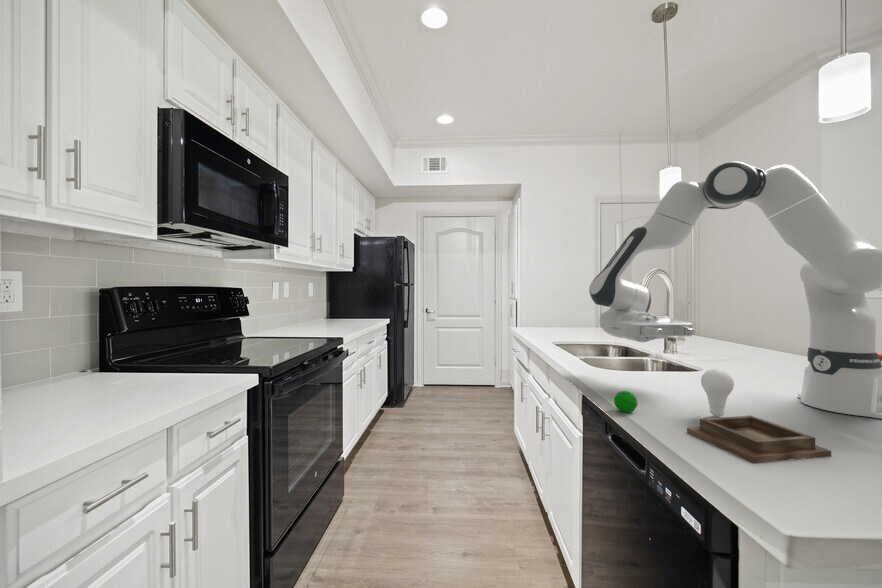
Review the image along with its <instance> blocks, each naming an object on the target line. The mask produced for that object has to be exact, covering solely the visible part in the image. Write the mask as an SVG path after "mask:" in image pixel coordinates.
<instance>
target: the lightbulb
mask: <svg viewBox="0 0 882 588" xmlns="http://www.w3.org/2000/svg"><path fill="white" fill-rule="evenodd" d="M700 378H701V379H700V384H701V387H702V389H703V390H704V392H705V393H706V396H707V400H708V405H709V413H710V415H712V416H713V418H720V417H724V414H725V407H726V406H727V405H726V403H727V400H728V397H729V395H730V394H731V393H732V391H733V390H734V387H735V381H734V379H733V377H732V376H731V375H730V373H728V372H727V371H725V370H723V369H719V368H711V369H708V370H707V371H704V373H703V374H702V375H701V377H700Z"/></svg>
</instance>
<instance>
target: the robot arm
mask: <svg viewBox="0 0 882 588" xmlns="http://www.w3.org/2000/svg"><path fill="white" fill-rule="evenodd" d="M744 202H750V203H752V204H754V205H756V206H758V208H759V209H760V210H761V211H762V212H763V214H764V215H765V217H766V219H768V221H769V222H770V224H771V225H772V226H773V228H774V229H775V231H776V232H777V233H778V235H779V236H780V237H781V238H782V240H783V242H784V243H785V244H786V245H788V246H789V247H791V248H792V249H794V250H795V251H796V252H797V253H798V254H799V255H801V256H802V258H803V259H804V260H805V262H804V263H803V264H802V265H801V268H800V272H799V276H800V279H801V281H802V283H803V287H804V291H805V297H806V298H805V299H806V302H807V305H808V311H809V317H810V318H809V319H810V327H809V329H810V330H809V331H810V333H809V334H810V337H809V338H810V343H809V347H808V348H807V352H806V355H807V361H808V363H809V364H808V365H807V366H806V367H805V369H804V372H803V379H802V385H801V392H798V393H797V397H798V399H800V402H801V403H803V404H804V405H806V406H810V407H813V408H815V409H820V410H824V411H829V412H833V413H839V414H846V415H853V416H862V417H870V418H875V419H881V420H882V353H880V352H876V336H877V335H876V331H877V330H876V328H877V327H876V326H877V322H876V321H877V320H876V318H875V316H874V314H873V313H872V312H871V310H870V307H869V305H868V302H867V298H866V297H867V296H866V295H865V294H866V293H870V292H873V291H876V290H879V289H880V288H882V249H880V248H878V247H876V246H874V245H873V244H872V243H871V242H869V241H868V240H867V239H866V238H864V237H863V236H862V235H861V234H860V233H858V232H857V231H856V230H854V228H853V227H851V226H850V225H849V224H847V222H845V221H844V220H843V219H842V218H841V217H840V216H839V215H838V213H837V212H836V211H835V210H834V208H833V207H832V206H831V205H830V203H829V202H828V201H827V199H825V197H824V196H823V194H822V193H821V192H820V191H819V190H818V188H817V187H816V185H814V184H813V183H812V182H811V181H810V179H809V178H808V177H806V176H805V175H804V174H802V172H800V171H799V170H797V168H795V167H794V166H792V165H788V164H781V165H776V166H773V167H770V168H768V169H766V170H764V169H762V168H759V167H756V166H753V165H750V164H747V163H745V162H741V161H728V162H724V163H722V164H719V165H718V166H716V167H714V168H713V169H712V170H711V171H710V172H709V173H708V175H707V177H706V179H705V180H703V181H701V182H696V181H691V180H681V181H678V182H676V183H674V184H673V185H672V186H670V188H669V189H668V191H667V192H666V193H665V194H664V196H663V197H662V199H661V200H660V202H659V204H658V205H657V207H656V208H655V211H654V213H653V214H652V216H651V217H650V219H648V221H646V223H644V224H643V225H642V226H639V227H636V228H634V229H633V230H632V231H631V232H630V233H629V235H627V236H626V238H624V240H623V242H622V243H621V245H619V247H618V249H617V250H616V251H615V252H614V254H613V256H612V257H611V258H610V260H609V261H608V262H607V264H606V265H605V267H604V268H603V269H602V270H601V271H600V272H599V273H598V274H597V275H596V277H594V279H592V281H591V283H590V285H589V290H588V291H589V295H590V298H591V300H592V301H593V302H594V304H595V305H598V306H603V307H609V309H607V310H605V311H603V312H602V313H601V314H600V317H599V326H600V327H601V329H602V330H603V332H605V333H606V334H608V335H610V336H612V337H615V338H621V339H626V340H629V341H632V342H637V343H638V342H639V343H647V342H649V341H652V340H653V341H654V340H658V339H660V340H661V339H669V337H692V336H694V335H695V329H694V324H693V323H692V322H689V321H686V320H681V319H677V318H676V319H674V318H670V316H666V315H658V314H653V313H650V312H649V311H650V308H651V304H652V296H651V295H652V294H651V292H650V289H649V288H648V287H647V286H646V285H644V284H643V285H642V284H640V283H638V282H637V283H636V282H635V281H630V280H627V279H624V278H623V277H622V278H621V276H622V275H623V274H624V273H625V271H626V270H627V269H628V267H629V266H630V264H631V263H632V262H633V260H634V259H635V258H636V257H637V256H638V255H639V254H641V253H643V252H646V251H651V250H666V249H667V250H668V249H672V248H674V247H676V246H679V245H680V244H682V243H683V242H684V241H685V240H686V239H687V238H688V237H689V235H690V233H691V231H692V230H693V227H694V226H695V224H696V223H697V222H698V221H697V220H698V218H699V217H700V215H702V213H703V212H704V211H705V209H714V210H715V209H716V210H729V209H733V208H736V207H738V206H740V205H742V204H743V203H744Z"/></svg>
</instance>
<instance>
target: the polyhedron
mask: <svg viewBox="0 0 882 588" xmlns="http://www.w3.org/2000/svg"><path fill="white" fill-rule="evenodd" d="M613 401H614V403H613V404H614V405H615V408H617V410H618V411H620V412H621V413H625V414H628V413H633V412H634V411H635V410H636V409H637V407H638V400H637V397H636V396H635V395H634V394H633V393H632V392H630V391H627V390H623V391H619V392H617V393H616V395H615V397H613Z"/></svg>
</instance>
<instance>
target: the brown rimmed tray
mask: <svg viewBox="0 0 882 588" xmlns="http://www.w3.org/2000/svg"><path fill="white" fill-rule="evenodd" d="M686 433H688V434H690V435H692V436H694V437H697V438H698V439H701V440H702V441H705V442H706V443H709V444H711V445H713V446H715V447H718V448H720V449H722V450H724V451H727V452H728V453H731V454H733V455H735V456H737V457H739V458H742V459H744V460H745V461H748V462H749V463H752V464H758V463H768V462H770V463H771V462H780V461H782V460H783V461H790V460H789V459H794V460H802V459H801V458H806V459H815V457H817V458H827V456H828V457H832V450H831V449H828V448H826V447H822V446H820V445H817V443H816V442H817V441H816V438H817V437H814V436H812V435H809V434H805V433H802V432H800V431H797V430H794V429H791V428H788V427H787V426H783V425H779V424H776V423H773V422H772V421H767V420H764V419H762V418H759V417H756V416H753V415H738V416H736V415H735V416H720V417H708V418H699V426H689V427H686Z"/></svg>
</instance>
